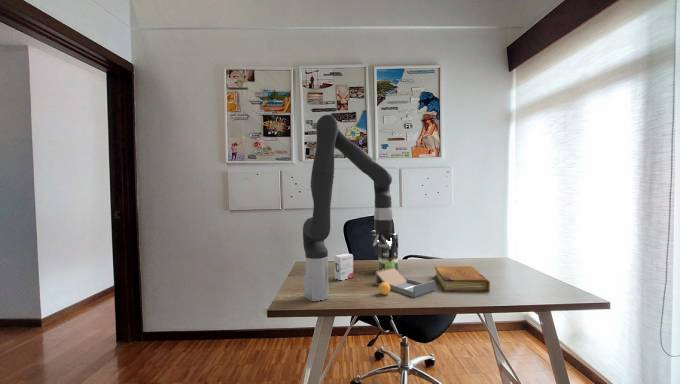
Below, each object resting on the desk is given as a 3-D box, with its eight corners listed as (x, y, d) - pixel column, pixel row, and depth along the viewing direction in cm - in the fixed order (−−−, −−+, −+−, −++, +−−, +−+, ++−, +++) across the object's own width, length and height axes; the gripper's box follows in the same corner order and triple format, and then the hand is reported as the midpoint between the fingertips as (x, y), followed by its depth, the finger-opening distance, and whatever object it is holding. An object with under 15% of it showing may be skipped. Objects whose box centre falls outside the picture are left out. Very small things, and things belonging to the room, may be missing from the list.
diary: (489, 293, 140) (489, 280, 140) (444, 292, 142) (444, 279, 141) (473, 277, 163) (473, 265, 162) (434, 276, 165) (434, 265, 164)
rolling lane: (415, 298, 134) (414, 283, 134) (374, 285, 153) (374, 271, 153) (434, 291, 142) (434, 277, 142) (394, 279, 161) (394, 266, 161)
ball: (384, 297, 136) (384, 285, 136) (376, 294, 140) (375, 282, 140) (392, 294, 139) (392, 282, 139) (384, 291, 143) (384, 280, 143)
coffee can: (400, 274, 168) (399, 247, 168) (380, 275, 168) (379, 247, 168) (396, 269, 179) (395, 243, 178) (377, 269, 178) (376, 243, 178)
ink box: (347, 275, 168) (347, 252, 167) (354, 278, 164) (353, 254, 163) (334, 279, 162) (333, 255, 162) (340, 281, 158) (340, 257, 158)
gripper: (365, 217, 142) (365, 255, 142) (389, 220, 131) (389, 261, 131) (377, 216, 146) (378, 252, 147) (402, 218, 135) (402, 258, 136)
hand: (383, 256), depth 139 cm, fingers open, 8 cm apart
